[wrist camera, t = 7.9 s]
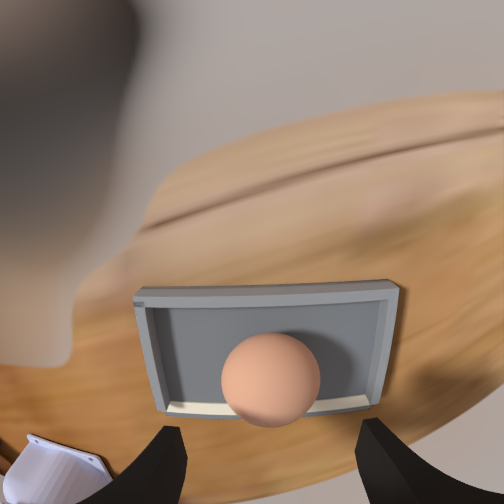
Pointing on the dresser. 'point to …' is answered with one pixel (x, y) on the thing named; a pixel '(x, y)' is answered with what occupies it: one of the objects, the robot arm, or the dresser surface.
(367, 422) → the robot arm
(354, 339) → the grey shallow tray
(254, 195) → the dresser surface
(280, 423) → the ball
